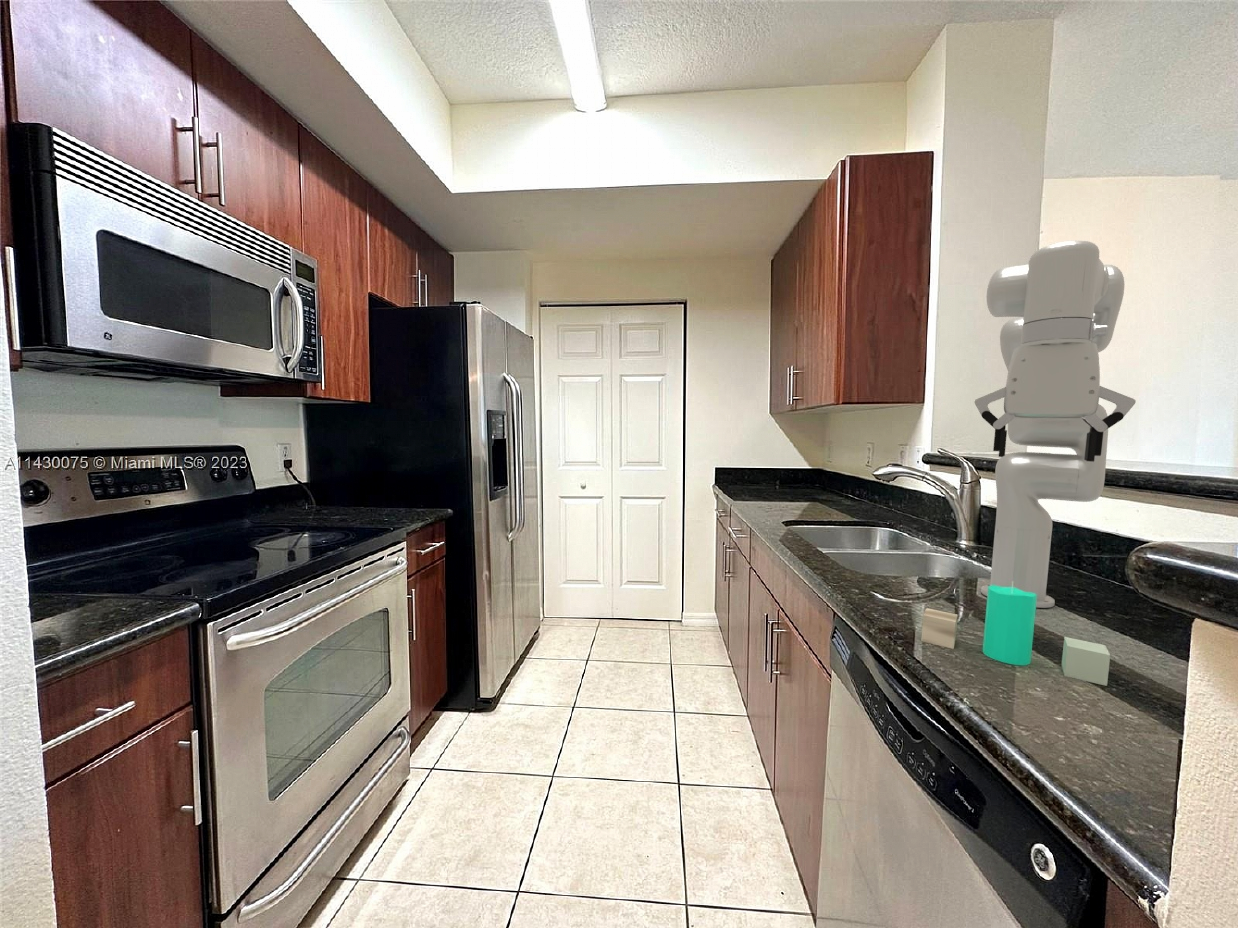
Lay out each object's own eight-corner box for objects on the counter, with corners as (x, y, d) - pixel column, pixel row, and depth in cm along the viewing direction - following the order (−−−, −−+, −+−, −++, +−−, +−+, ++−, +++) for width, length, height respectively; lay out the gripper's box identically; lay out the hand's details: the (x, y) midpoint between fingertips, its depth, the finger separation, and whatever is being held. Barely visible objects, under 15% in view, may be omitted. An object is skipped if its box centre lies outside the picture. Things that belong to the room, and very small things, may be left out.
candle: (1039, 667, 76) (1047, 588, 76) (994, 662, 78) (1001, 584, 77) (1016, 651, 82) (1023, 577, 82) (975, 646, 84) (981, 573, 83)
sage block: (1061, 665, 78) (1064, 636, 77) (1101, 675, 75) (1105, 645, 75) (1064, 676, 74) (1067, 645, 74) (1106, 686, 71) (1110, 655, 71)
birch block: (924, 633, 88) (926, 608, 88) (955, 640, 86) (957, 614, 86) (921, 641, 85) (923, 614, 85) (953, 649, 82) (955, 621, 82)
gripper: (1136, 337, 70) (1122, 462, 71) (980, 345, 80) (971, 454, 81) (1148, 326, 64) (1134, 464, 65) (979, 336, 74) (968, 455, 75)
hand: (1043, 458), depth 73 cm, fingers open, 9 cm apart
